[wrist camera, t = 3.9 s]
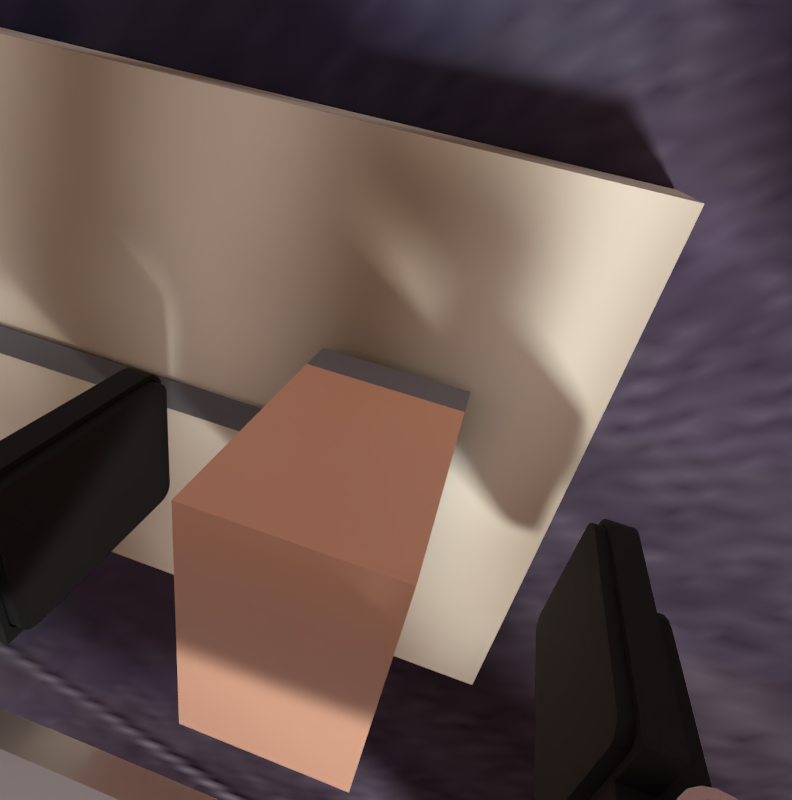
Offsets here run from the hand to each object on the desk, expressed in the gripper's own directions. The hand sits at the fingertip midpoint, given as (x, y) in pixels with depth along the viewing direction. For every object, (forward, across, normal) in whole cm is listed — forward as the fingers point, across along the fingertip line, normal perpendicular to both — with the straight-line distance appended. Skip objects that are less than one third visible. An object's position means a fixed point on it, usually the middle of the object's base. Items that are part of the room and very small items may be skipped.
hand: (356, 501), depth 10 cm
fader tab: (+1, 0, 0) cm, 1 cm away
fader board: (+4, +7, 0) cm, 8 cm away
